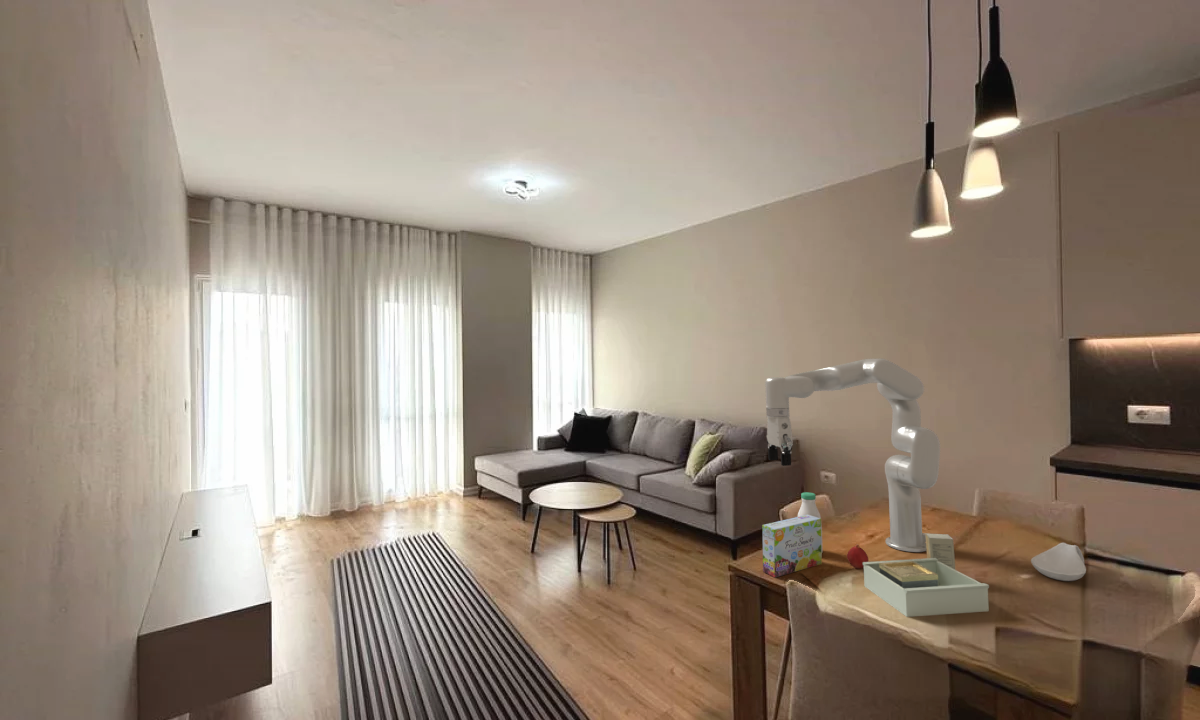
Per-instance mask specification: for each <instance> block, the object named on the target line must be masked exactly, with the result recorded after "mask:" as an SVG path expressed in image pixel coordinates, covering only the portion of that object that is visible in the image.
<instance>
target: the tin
mask: <svg viewBox="0 0 1200 720" xmlns="http://www.w3.org/2000/svg"><path fill="white" fill-rule="evenodd" d="M879 568H880V573H881V574H882V575H884V576H885V577H887V578H888V579H890V580H891V581H893V582H895V583H896V584H898V585H899V586H901V587H902V588H904V589H905V588H920V587H935V586H938V574H936V573H934V572H932V571H931V570H929V569H927V568H925V567H923V566H922V565H920V564H918V563H916V562H914V561H903V562H887V563H879Z"/></svg>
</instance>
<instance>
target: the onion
mask: <svg viewBox="0 0 1200 720" xmlns="http://www.w3.org/2000/svg"><path fill="white" fill-rule="evenodd" d="M846 554H847V555H846V558H847V560H848V562H849V564H850V566H852V567H853V568H854V569H858V570H860V569H864V565H863V562H869V556H868V554H867V553H866V551H865V549H863V548H861V547H860V544H859V543H857V544H855V545H854V546H853V547H851V548H850V549H849V550H848V552H847V553H846Z"/></svg>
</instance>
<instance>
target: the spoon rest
mask: <svg viewBox="0 0 1200 720" xmlns="http://www.w3.org/2000/svg"><path fill="white" fill-rule="evenodd" d="M1030 562H1031V565H1032V566H1033V568H1035V570H1037V572H1039V573H1040V574H1042V575H1044V576H1046V577H1048V578H1050V579H1053V580H1057V581H1062V582H1074V581H1077V580H1079V579H1081V578H1083V577H1084V576H1085V575H1086V572H1087V567H1086V565H1085V558H1084V555H1083V553H1082V550H1081V549H1080V547H1079V546H1078V545H1076V544H1074V545H1073V544H1072V545H1071V544H1068V543H1066V542H1060V543H1058V544H1057V545H1055V546H1053V547H1051V548H1049V549H1048V550H1045V551H1043V552H1041V553H1039V554H1036V555H1035V556H1033V557H1032V558H1031V559H1030Z"/></svg>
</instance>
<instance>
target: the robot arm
mask: <svg viewBox="0 0 1200 720" xmlns="http://www.w3.org/2000/svg"><path fill="white" fill-rule="evenodd" d="M765 379H766V380H765V382H764V386H765V412H766V413H765V414H766V418H767V421H766V425H767V427H766V435H765V437H766V443H767V451H768V452H767V453H768V455H767V456H768V460H769V461H778V459H779V454H778V453H779V451H778V448H780V449H779V450H780V451H781V453H780V461H781V462H780V464H781V466H784V467H785V466H792V449H793V448H792V447H793V445H794V444H793V432H792V430H793V429H792V424H791V419H790V398H797V399H805V398H809V397H810V396H812V394H813V393H814V392H819V391H820V392H821V391H823V392H825V391H828V392H829V391H831V392H833V391H841V390H846V389H849V388H854V387H857V386H858V387H859V386H863V385H868V384H876V389H877V391H878V393H879V394H880V395H881V396H882V397H883V398H884V399H885V400H887V402H888V403H889V405H890V407H891V410H892V418H891V419H892V421H891V424H892V425H891V436H890V438H891V439H890V443H891V445H892V446H893V447H894V449H896V450H898V451H901V452H905V453H909V454H910V456H909V455H904V454H895V455H894V454H893V455H892V456H889V457H888V458H887V459H886V461H885V463H884V474H885V478H886V483H887V486H888V487H887V489H888V505H889V507H888V509H889V510H888V512H889V532H890V533H889V534H890V536H888V537H886V538H885V544H886V545H887V546H888V547H890V548H891V549H895V550H899V551H903V552H909V553H922V552H924V553H925V552H927V549H926V533H925V532H924V533H923V521H922V498H921V492H920V490H928V489H931V488H932V487H934V486H935V484H936V483H937V481H938V478H939V472H940V471H939V470H940V459H941V458H940V457H941V456H940V455H941V443H940V439H939V437H938V435H937V434H936V433H935V431H933V430H931V429H930V428H927V427H922V414H921V413H922V410H921V407H920V404H919V402H918V399H919V398H922V396H923V394H924V392H925V386H924V383H923V381H922V380H921V379H920V377H919V376H916V375H915V374H914V373H912V372H910V371H908V370H906V369H905V368H903V367H901V366H900V365H898V364H896V363H894V362H893V361H891V360H889V359H886V358H865V359H860V360H856V361H851V362H847V363H841V364H837V365H833V366H828V367H824V368H820V369H816V370H815V369H814V370H809V371H805V372H799V373H795V374H791V375H787V376H785V377H782V376H781V377H780V376H779V377H768V378H765ZM777 447H778V448H777Z"/></svg>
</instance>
